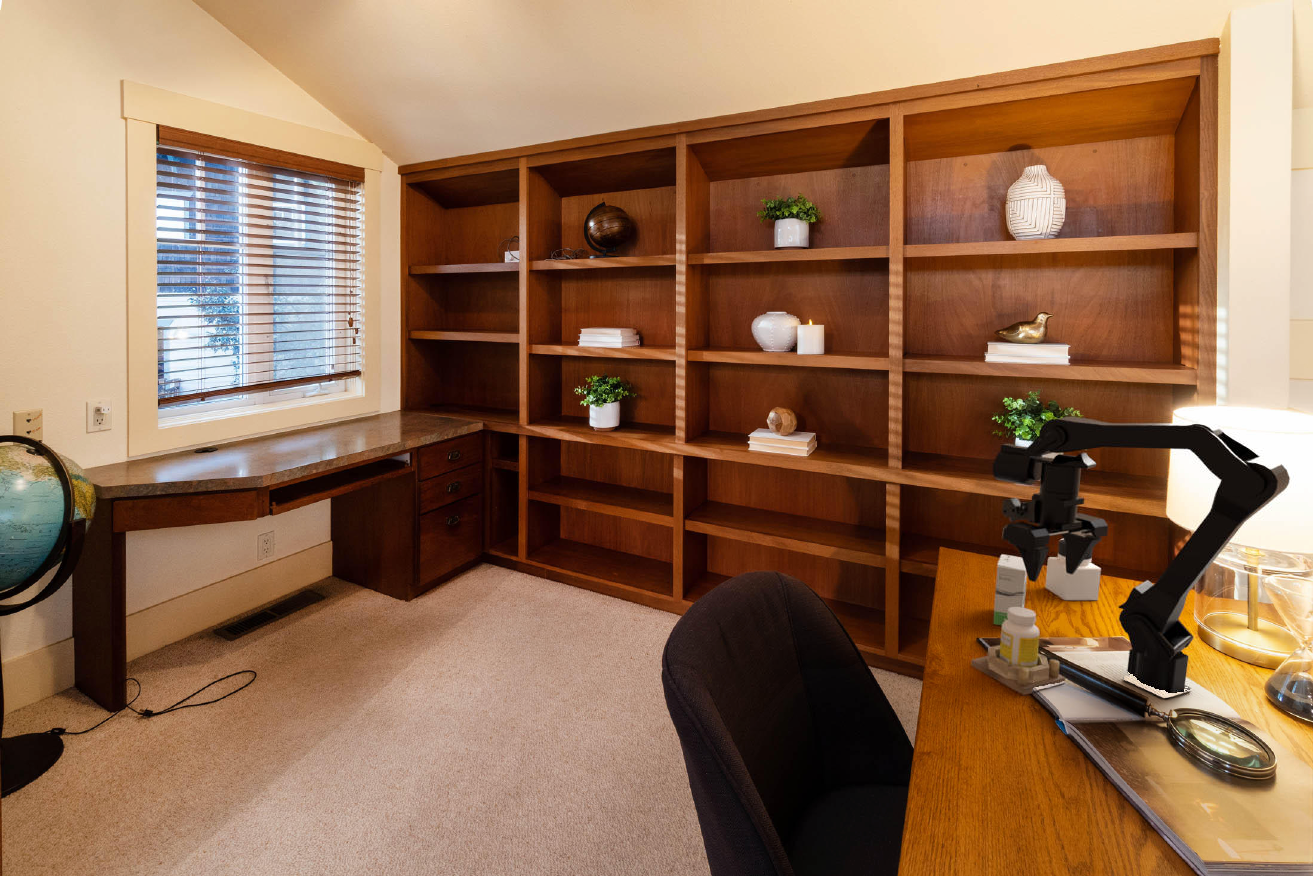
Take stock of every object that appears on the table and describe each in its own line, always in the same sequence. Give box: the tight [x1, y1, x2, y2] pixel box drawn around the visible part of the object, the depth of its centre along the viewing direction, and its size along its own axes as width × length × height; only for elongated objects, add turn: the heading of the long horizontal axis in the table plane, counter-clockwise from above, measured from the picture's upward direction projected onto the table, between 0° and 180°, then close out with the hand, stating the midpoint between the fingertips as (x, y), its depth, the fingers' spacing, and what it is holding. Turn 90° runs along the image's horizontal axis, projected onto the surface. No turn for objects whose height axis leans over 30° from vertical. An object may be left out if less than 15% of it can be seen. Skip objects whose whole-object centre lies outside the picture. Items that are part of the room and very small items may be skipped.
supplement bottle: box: [999, 607, 1040, 668], centre depth 107 cm, size 5×5×10 cm
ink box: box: [993, 554, 1028, 626], centre depth 127 cm, size 9×5×12 cm, turn 148°
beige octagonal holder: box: [970, 644, 1066, 696], centre depth 107 cm, size 10×9×3 cm
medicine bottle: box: [1045, 538, 1102, 601], centre depth 139 cm, size 7×7×12 cm
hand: (1051, 577), depth 115 cm, fingers open, 9 cm apart
